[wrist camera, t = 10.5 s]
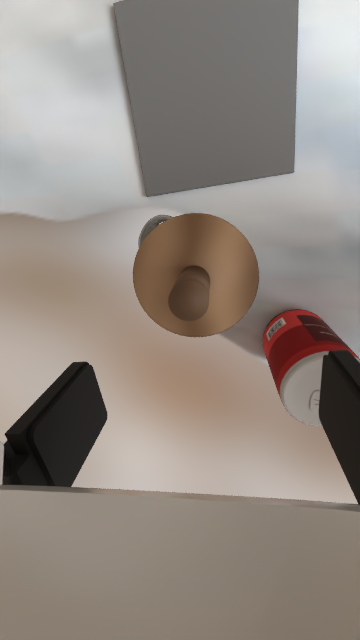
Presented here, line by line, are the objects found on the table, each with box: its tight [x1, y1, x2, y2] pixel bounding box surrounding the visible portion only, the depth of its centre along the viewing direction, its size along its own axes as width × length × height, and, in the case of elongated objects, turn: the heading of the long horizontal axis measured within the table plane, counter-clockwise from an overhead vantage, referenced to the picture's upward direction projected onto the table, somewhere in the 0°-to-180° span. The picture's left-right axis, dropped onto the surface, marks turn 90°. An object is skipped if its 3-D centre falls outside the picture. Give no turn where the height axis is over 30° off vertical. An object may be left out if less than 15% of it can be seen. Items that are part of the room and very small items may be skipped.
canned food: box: [263, 310, 360, 426], centre depth 28 cm, size 8×8×11 cm
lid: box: [133, 213, 259, 337], centre depth 21 cm, size 11×11×6 cm
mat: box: [113, 0, 299, 197], centre depth 24 cm, size 15×15×1 cm
